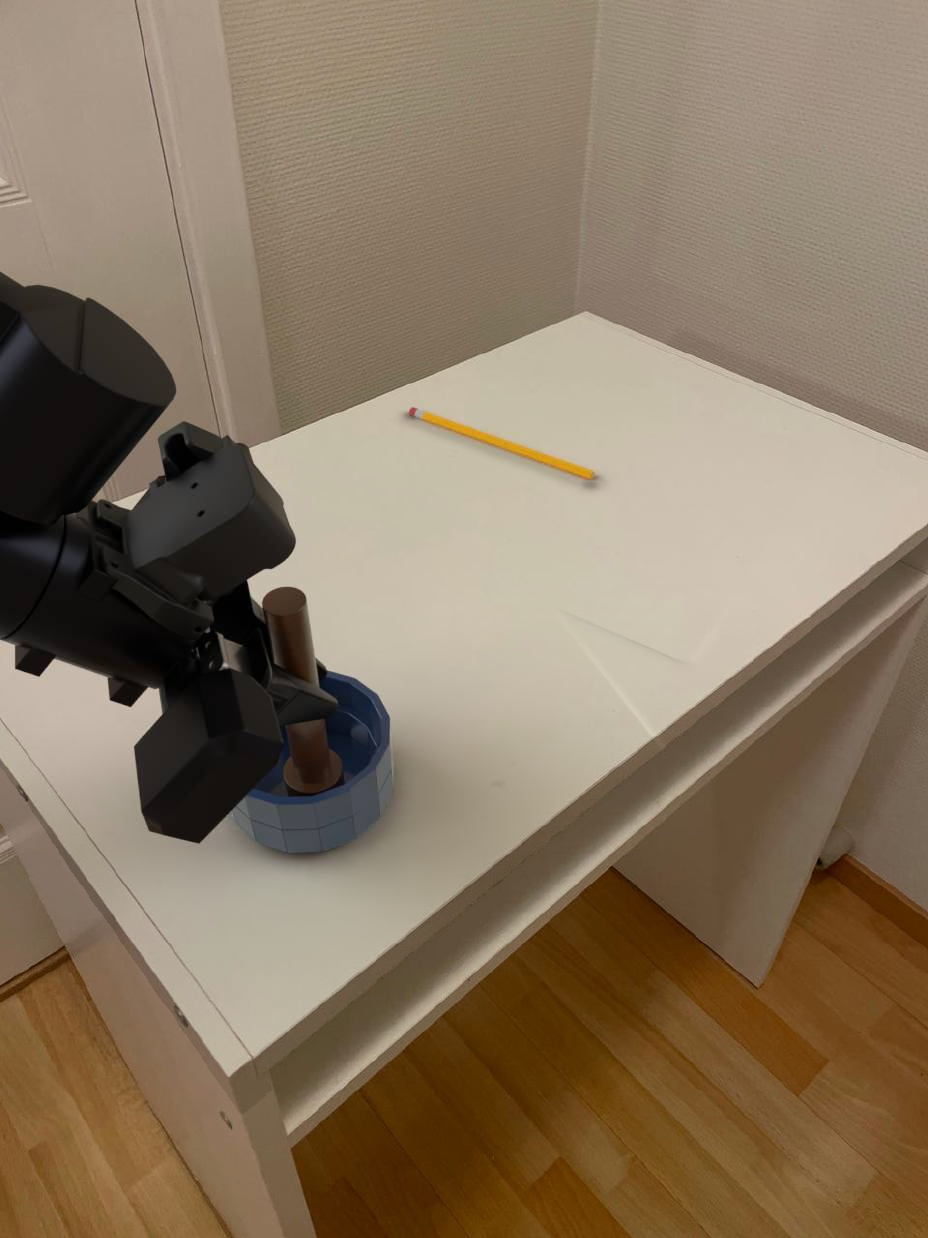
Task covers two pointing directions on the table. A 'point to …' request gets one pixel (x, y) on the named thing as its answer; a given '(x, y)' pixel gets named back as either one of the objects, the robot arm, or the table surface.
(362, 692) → the bowl
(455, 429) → the pencil
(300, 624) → the muddler
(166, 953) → the table surface
